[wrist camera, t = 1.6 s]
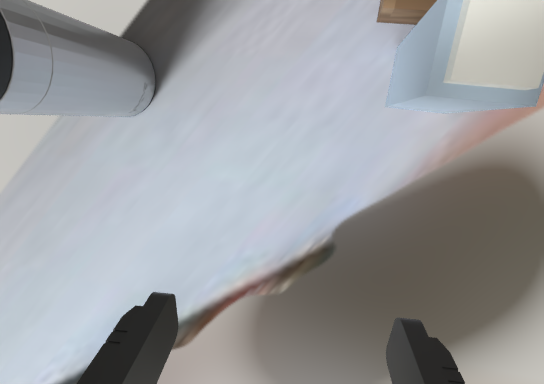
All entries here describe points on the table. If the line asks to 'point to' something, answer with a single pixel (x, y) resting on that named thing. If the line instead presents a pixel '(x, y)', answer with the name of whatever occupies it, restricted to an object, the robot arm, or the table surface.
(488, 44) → the carton
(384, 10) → the crate
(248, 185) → the table surface
